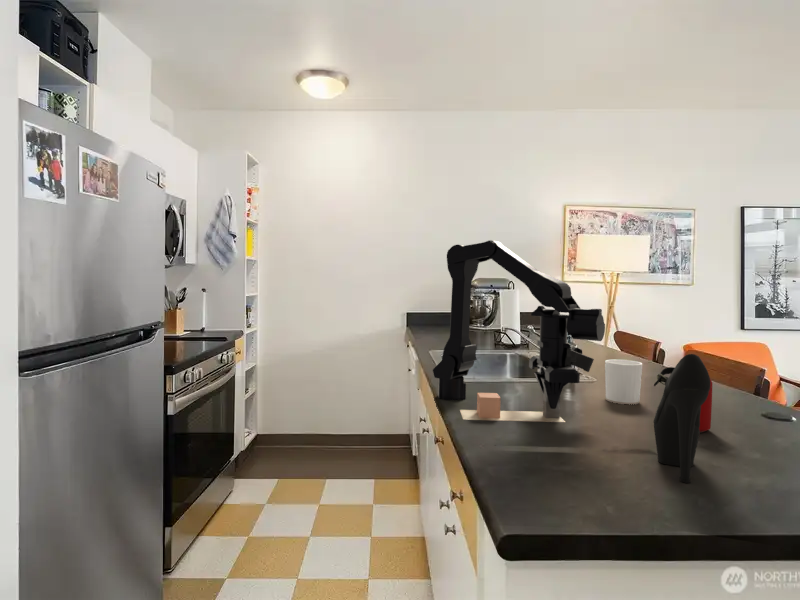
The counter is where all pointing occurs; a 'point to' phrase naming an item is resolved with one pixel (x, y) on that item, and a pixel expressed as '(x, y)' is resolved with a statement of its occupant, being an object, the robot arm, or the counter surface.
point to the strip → (521, 414)
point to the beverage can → (706, 412)
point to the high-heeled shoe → (681, 413)
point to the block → (488, 405)
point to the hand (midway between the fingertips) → (551, 406)
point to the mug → (623, 381)
